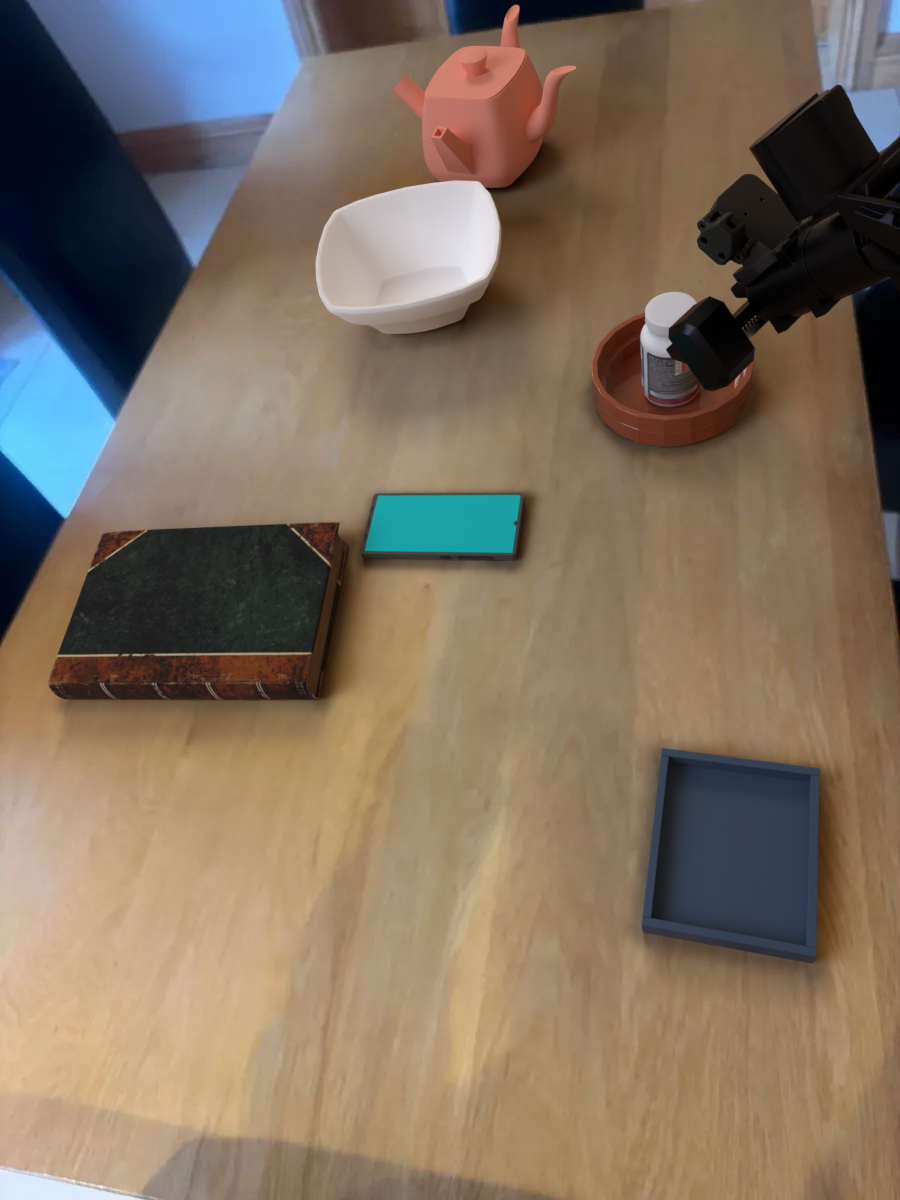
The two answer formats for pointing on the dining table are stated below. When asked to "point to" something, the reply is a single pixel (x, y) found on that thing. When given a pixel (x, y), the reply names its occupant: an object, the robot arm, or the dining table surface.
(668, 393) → the pill bottle
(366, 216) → the bowl
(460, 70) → the teapot
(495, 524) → the smartphone
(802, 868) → the tray
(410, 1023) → the dining table surface
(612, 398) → the terracotta bowl
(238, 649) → the book
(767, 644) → the dining table surface
